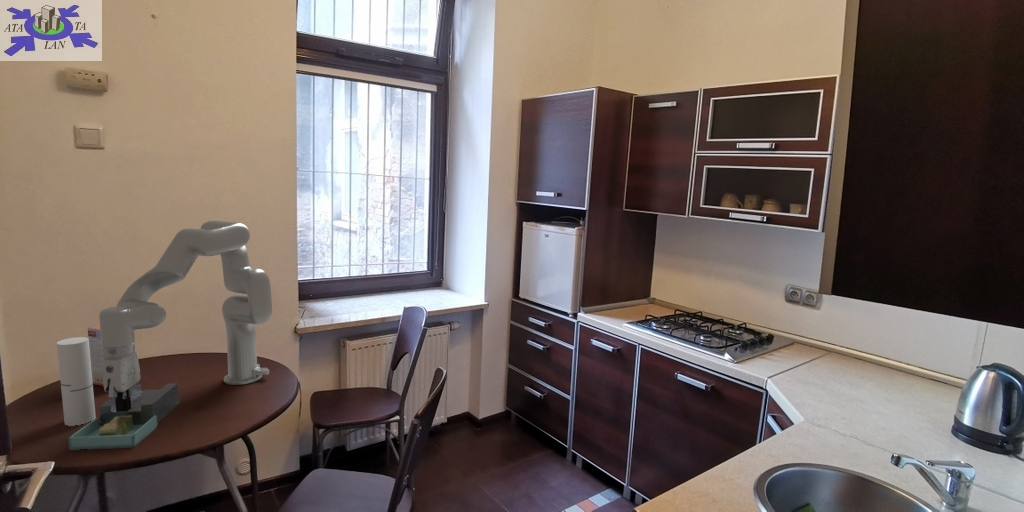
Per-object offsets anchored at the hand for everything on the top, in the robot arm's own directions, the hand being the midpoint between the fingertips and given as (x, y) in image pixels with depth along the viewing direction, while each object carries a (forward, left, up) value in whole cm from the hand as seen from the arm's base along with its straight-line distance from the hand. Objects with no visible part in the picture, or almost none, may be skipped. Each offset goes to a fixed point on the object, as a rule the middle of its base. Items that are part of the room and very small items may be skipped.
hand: (123, 410), depth 148 cm
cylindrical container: (+16, -7, -6) cm, 19 cm away
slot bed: (0, -9, -6) cm, 11 cm away
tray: (0, +5, -6) cm, 8 cm away
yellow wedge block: (-1, +5, -3) cm, 6 cm away
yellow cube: (-1, +7, -1) cm, 8 cm away
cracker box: (+22, -35, -6) cm, 42 cm away
